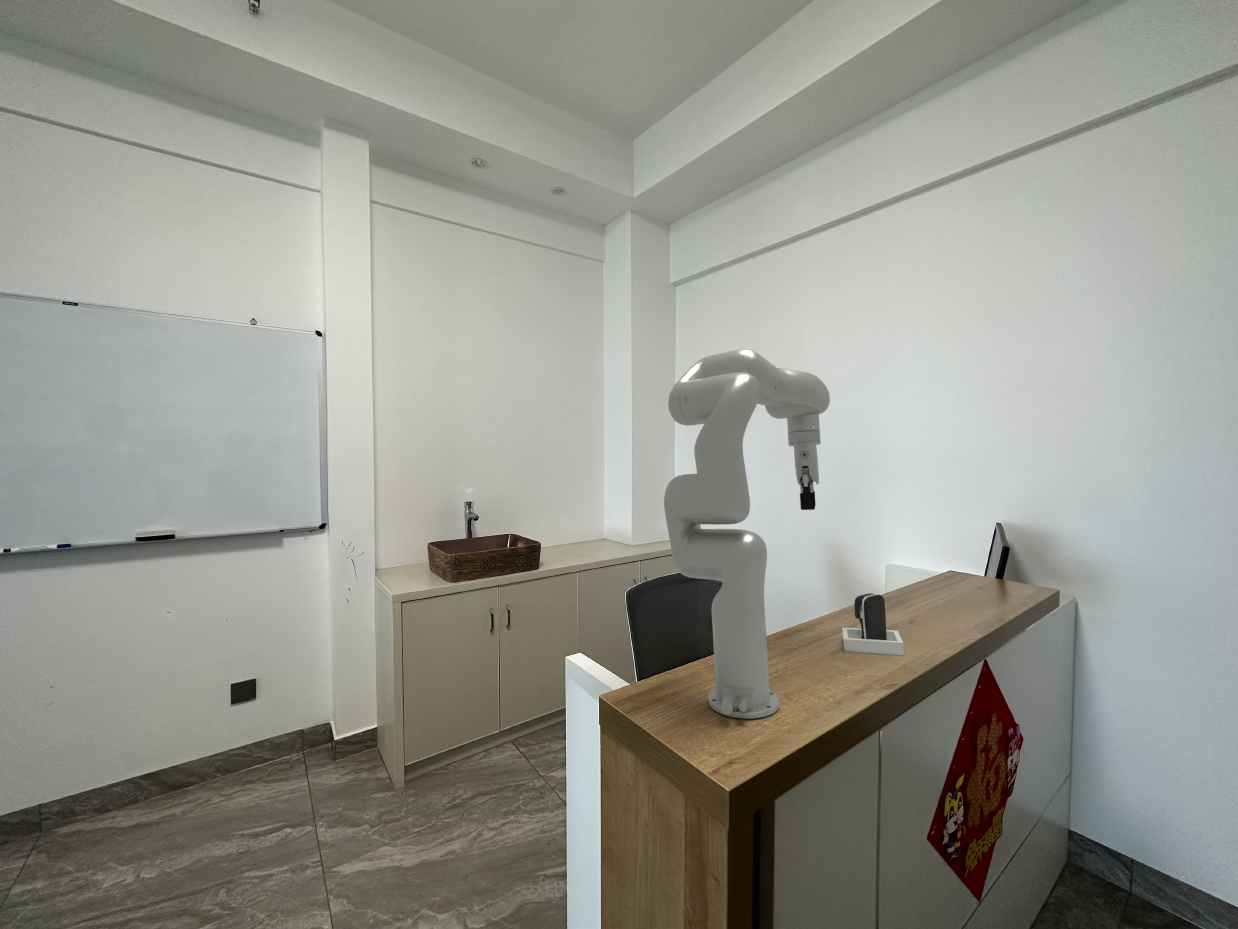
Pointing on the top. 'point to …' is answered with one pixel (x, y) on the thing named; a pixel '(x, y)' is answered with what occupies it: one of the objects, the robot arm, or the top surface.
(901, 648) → the tray
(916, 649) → the top surface
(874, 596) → the battery charger
